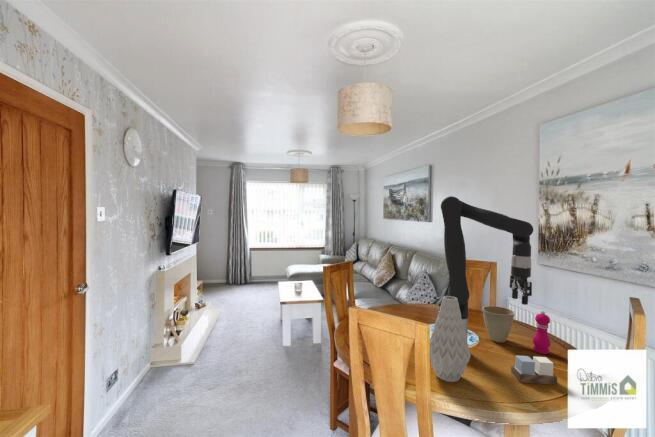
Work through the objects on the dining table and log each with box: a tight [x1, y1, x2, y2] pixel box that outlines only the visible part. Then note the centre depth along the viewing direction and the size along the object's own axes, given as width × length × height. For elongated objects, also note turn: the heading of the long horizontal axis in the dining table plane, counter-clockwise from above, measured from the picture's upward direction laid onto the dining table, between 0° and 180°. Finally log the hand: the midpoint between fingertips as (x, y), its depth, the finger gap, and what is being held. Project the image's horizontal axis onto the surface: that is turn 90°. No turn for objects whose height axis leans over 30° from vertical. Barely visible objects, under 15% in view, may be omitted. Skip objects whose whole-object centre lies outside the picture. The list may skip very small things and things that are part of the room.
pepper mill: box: [532, 310, 552, 355], centre depth 151 cm, size 7×7×20 cm
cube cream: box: [532, 356, 554, 376], centre depth 126 cm, size 5×5×5 cm
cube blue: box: [514, 355, 535, 374], centre depth 126 cm, size 5×5×5 cm
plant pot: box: [482, 305, 515, 343], centre depth 163 cm, size 15×15×16 cm
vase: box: [429, 295, 471, 383], centre depth 126 cm, size 17×17×33 cm
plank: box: [510, 365, 558, 385], centre depth 126 cm, size 14×7×3 cm, turn 84°
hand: (519, 301), depth 138 cm, fingers open, 8 cm apart
